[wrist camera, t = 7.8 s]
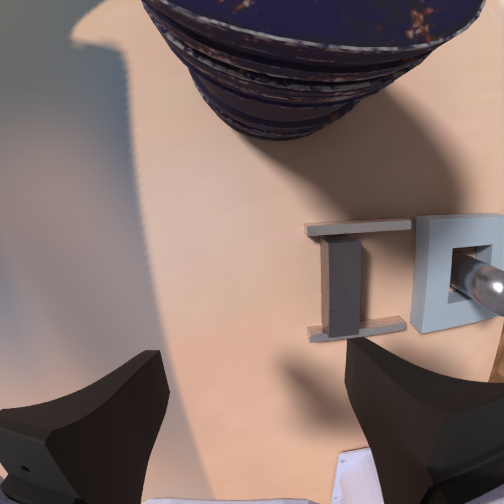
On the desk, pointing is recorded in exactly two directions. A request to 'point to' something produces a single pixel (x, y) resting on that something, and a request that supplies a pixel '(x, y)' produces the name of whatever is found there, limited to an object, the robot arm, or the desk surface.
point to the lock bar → (340, 284)
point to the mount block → (498, 363)
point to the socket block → (439, 267)
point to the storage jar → (301, 54)
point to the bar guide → (358, 227)
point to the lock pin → (478, 281)
